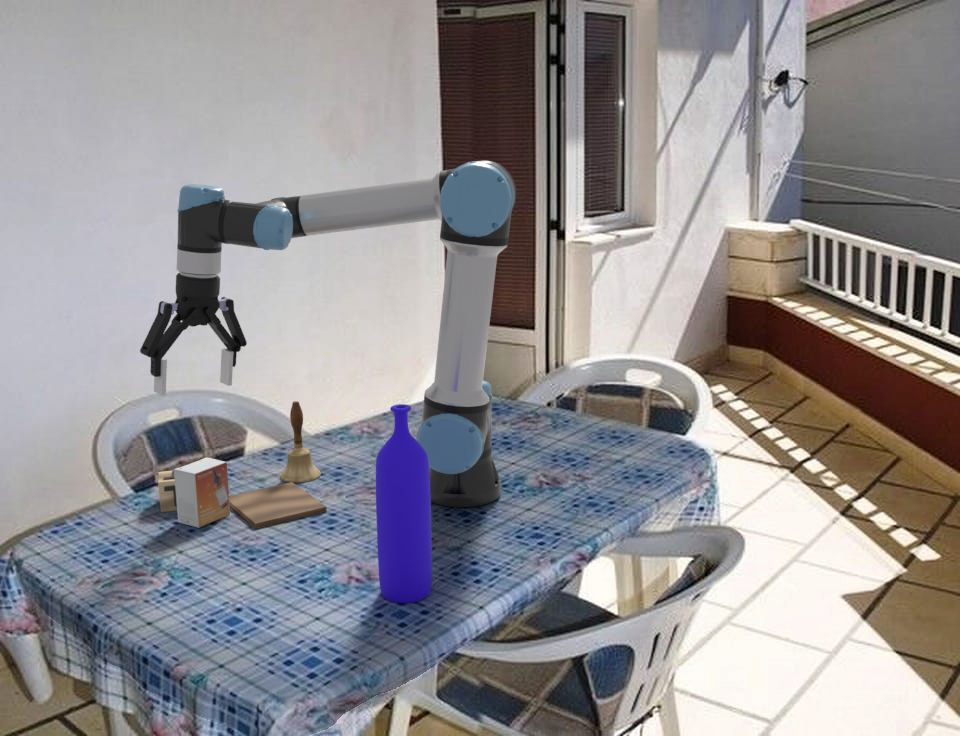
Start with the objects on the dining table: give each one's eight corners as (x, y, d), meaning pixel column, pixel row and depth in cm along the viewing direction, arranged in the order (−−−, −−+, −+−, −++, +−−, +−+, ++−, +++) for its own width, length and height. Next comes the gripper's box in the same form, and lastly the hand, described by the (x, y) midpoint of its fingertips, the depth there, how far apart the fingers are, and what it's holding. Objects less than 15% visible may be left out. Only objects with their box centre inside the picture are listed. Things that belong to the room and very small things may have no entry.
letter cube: (193, 509, 184) (191, 478, 183) (160, 512, 182) (157, 481, 181) (193, 497, 190) (190, 467, 188) (161, 501, 188) (158, 470, 187)
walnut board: (326, 511, 182) (326, 506, 182) (255, 528, 174) (255, 523, 174) (292, 486, 195) (292, 482, 195) (224, 501, 187) (224, 496, 187)
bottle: (425, 607, 145) (420, 415, 138) (372, 602, 147) (365, 412, 140) (438, 582, 153) (434, 400, 146) (388, 578, 155) (382, 397, 148)
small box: (198, 529, 175) (194, 474, 172) (177, 523, 177) (172, 468, 175) (231, 514, 181) (227, 461, 179) (210, 508, 184) (206, 456, 181)
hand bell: (272, 480, 199) (267, 405, 195) (294, 467, 206) (290, 395, 203) (307, 485, 196) (302, 409, 192) (328, 471, 203) (324, 398, 200)
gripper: (245, 267, 183) (240, 375, 188) (121, 272, 164) (118, 391, 169) (269, 274, 178) (262, 385, 183) (144, 280, 159) (140, 403, 165)
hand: (193, 388), depth 176 cm, fingers open, 13 cm apart
